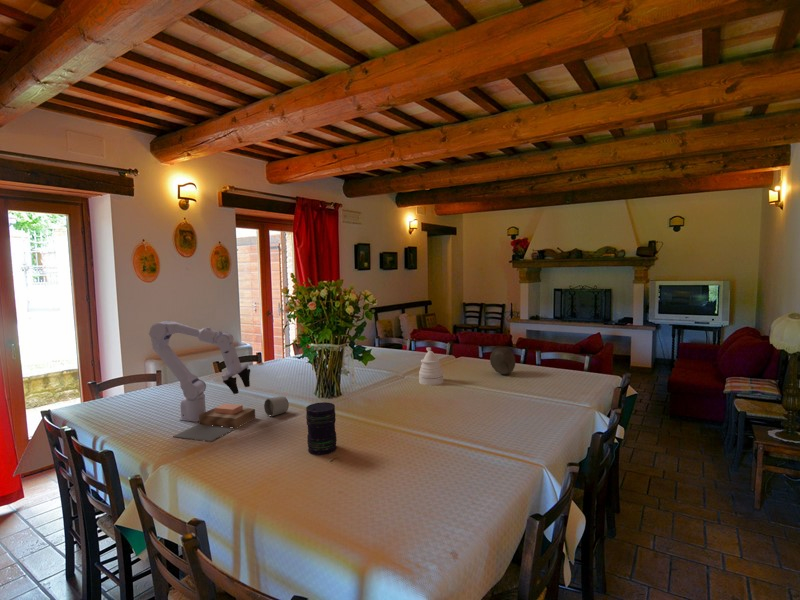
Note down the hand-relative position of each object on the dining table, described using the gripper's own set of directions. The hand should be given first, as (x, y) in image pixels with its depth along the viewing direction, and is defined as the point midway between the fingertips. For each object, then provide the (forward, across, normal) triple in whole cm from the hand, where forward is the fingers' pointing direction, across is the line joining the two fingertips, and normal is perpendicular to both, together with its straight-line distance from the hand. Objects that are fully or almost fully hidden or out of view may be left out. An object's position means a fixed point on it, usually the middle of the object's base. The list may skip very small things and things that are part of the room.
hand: (242, 390), depth 187 cm
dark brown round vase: (+44, +90, -93) cm, 137 cm away
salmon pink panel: (+6, -8, +3) cm, 10 cm away
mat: (+8, -22, +4) cm, 24 cm away
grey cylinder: (+14, +4, -9) cm, 17 cm away
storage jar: (+20, -24, -47) cm, 57 cm away
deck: (+9, -9, +4) cm, 14 cm away
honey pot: (+34, +67, -60) cm, 96 cm away
